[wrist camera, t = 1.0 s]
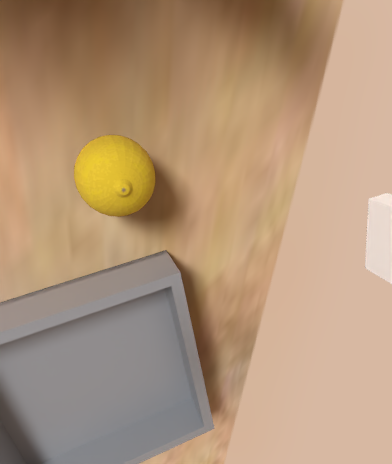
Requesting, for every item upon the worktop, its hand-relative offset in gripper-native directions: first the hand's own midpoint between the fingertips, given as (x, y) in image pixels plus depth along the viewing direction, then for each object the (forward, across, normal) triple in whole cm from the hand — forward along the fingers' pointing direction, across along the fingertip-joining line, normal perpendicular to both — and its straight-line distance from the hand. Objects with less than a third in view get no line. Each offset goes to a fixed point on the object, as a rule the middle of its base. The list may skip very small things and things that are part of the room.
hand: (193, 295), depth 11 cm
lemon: (+21, 0, 0) cm, 21 cm away
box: (+20, -7, -19) cm, 29 cm away
